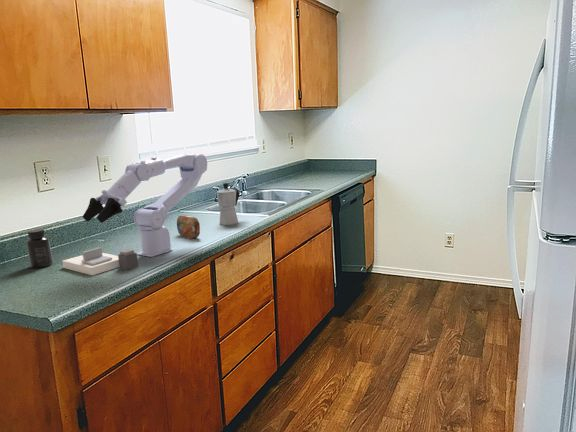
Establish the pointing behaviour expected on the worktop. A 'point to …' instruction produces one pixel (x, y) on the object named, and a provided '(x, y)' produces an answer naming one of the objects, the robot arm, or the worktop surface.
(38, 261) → the supplement bottle
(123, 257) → the plug
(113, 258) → the socket plate
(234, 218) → the coffee maker
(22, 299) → the worktop surface
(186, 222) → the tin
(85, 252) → the shutter
